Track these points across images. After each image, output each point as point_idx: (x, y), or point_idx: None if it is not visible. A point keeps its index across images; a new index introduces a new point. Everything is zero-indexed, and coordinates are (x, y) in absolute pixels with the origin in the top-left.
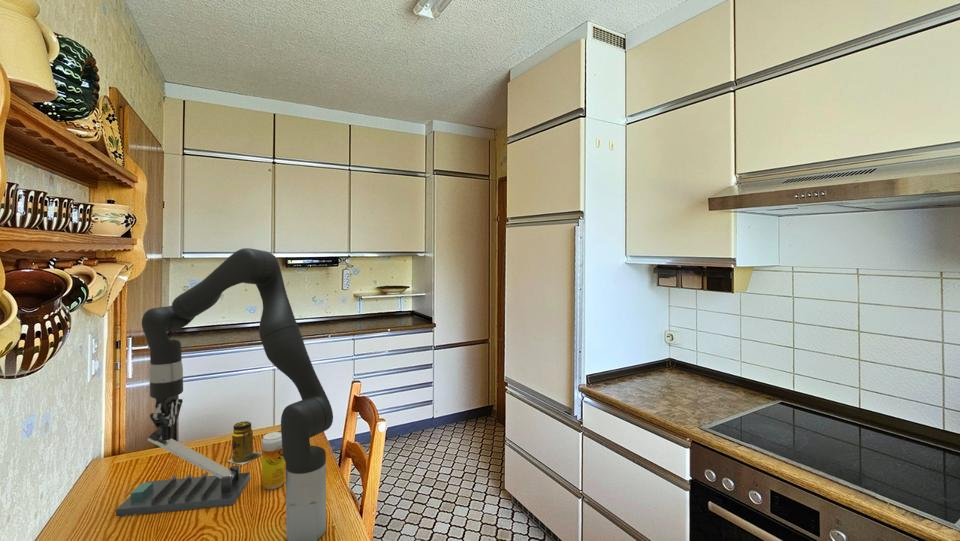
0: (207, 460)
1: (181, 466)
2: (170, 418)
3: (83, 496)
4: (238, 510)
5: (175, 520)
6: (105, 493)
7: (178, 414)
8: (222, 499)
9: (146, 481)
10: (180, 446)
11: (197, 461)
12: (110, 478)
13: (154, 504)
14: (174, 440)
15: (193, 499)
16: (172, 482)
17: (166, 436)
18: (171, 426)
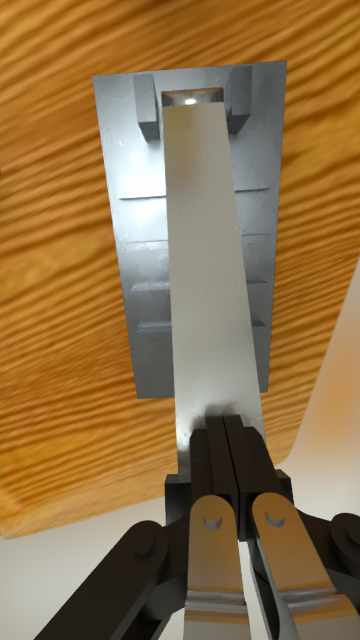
0: (185, 203)
1: (26, 365)
2: (345, 601)
3: (163, 481)
4: (316, 35)
5: (316, 233)
6: (156, 453)
7: (99, 572)
8: (283, 106)
9: (137, 398)
10: (198, 345)
11: (232, 229)
12: (91, 478)
13: (264, 317)
14: (179, 398)
15: (262, 216)
16: (160, 328)
17: (261, 445)
18: (245, 488)
